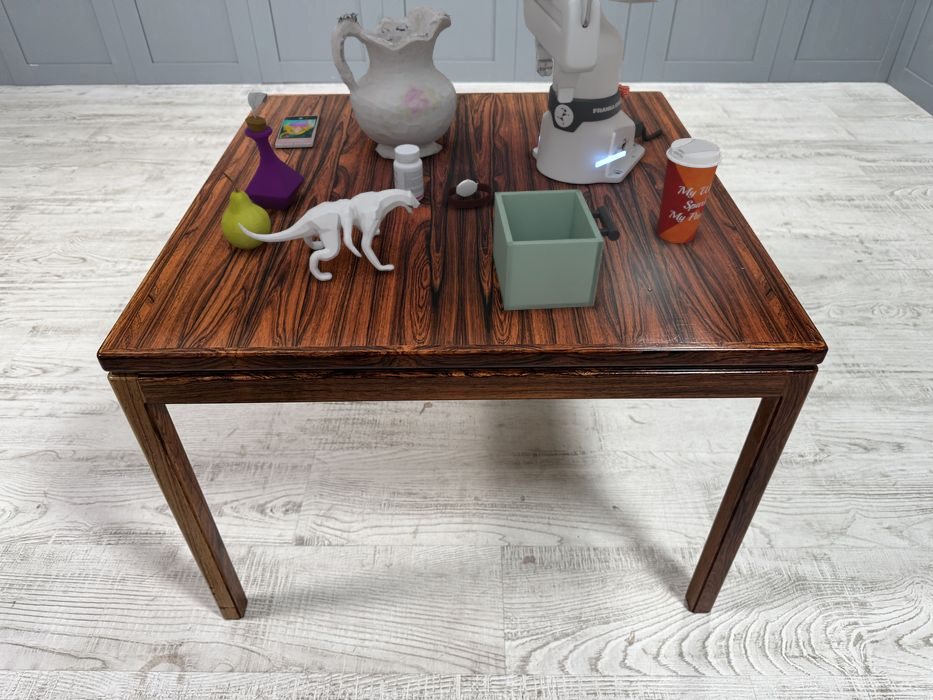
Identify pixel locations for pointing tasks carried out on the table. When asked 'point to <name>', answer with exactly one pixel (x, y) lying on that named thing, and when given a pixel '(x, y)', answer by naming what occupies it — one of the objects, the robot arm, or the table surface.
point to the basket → (548, 248)
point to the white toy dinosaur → (343, 225)
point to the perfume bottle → (269, 165)
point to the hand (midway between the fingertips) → (553, 87)
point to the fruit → (244, 220)
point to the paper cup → (686, 187)
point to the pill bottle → (409, 170)
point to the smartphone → (297, 131)
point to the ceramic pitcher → (399, 81)
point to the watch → (468, 194)
